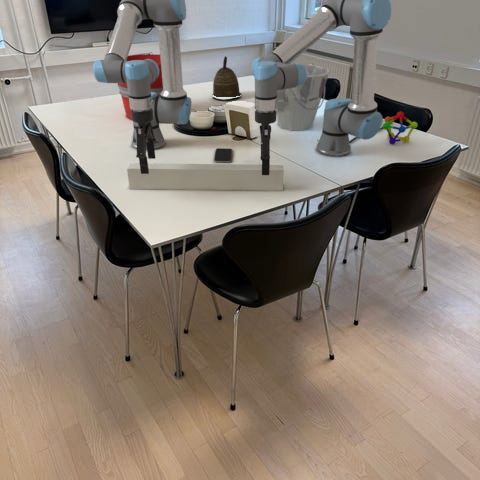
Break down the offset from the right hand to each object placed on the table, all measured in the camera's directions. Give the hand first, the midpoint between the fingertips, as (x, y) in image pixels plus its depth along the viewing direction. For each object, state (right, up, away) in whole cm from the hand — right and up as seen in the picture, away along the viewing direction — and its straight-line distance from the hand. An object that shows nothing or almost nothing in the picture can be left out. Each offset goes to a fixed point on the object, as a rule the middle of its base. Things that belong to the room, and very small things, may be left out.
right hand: (264, 167), depth 164 cm
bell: (-18, +64, +117) cm, 135 cm away
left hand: (-43, +1, +1) cm, 43 cm away
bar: (-22, -7, +4) cm, 23 cm away
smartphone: (-17, +10, +31) cm, 37 cm away
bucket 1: (-60, +43, +84) cm, 112 cm away
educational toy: (+65, +19, +47) cm, 82 cm away
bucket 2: (+20, +33, +69) cm, 79 cm away
